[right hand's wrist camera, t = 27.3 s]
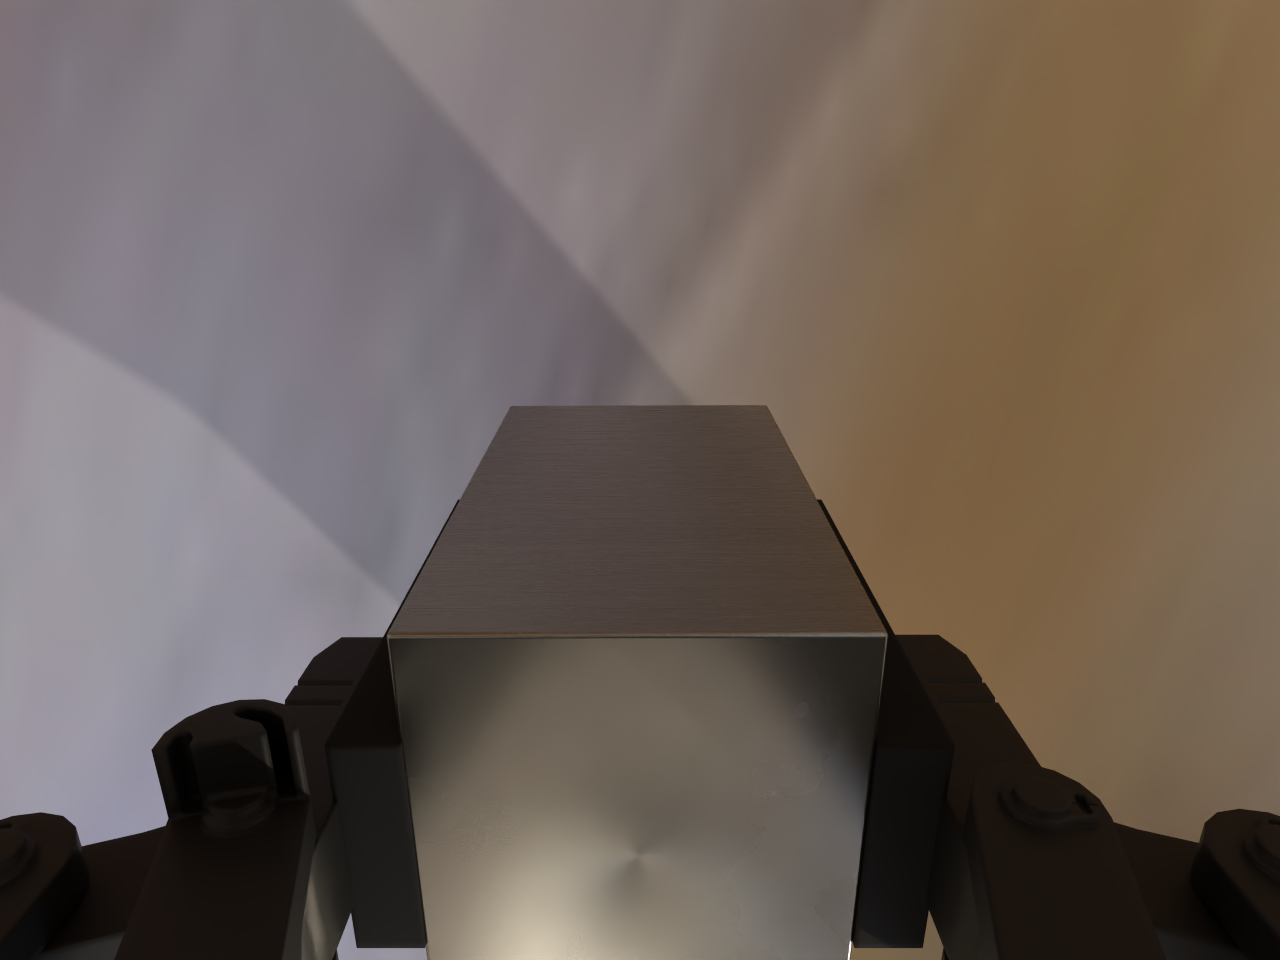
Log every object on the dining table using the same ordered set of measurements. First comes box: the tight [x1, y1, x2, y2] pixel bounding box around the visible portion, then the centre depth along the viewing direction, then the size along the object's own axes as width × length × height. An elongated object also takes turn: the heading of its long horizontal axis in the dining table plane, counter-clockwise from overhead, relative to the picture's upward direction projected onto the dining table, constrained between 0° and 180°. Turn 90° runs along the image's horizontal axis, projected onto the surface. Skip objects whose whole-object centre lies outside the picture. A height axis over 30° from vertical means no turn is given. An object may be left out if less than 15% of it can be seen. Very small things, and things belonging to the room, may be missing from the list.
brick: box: [387, 405, 888, 960], centre depth 13 cm, size 5×5×8 cm
